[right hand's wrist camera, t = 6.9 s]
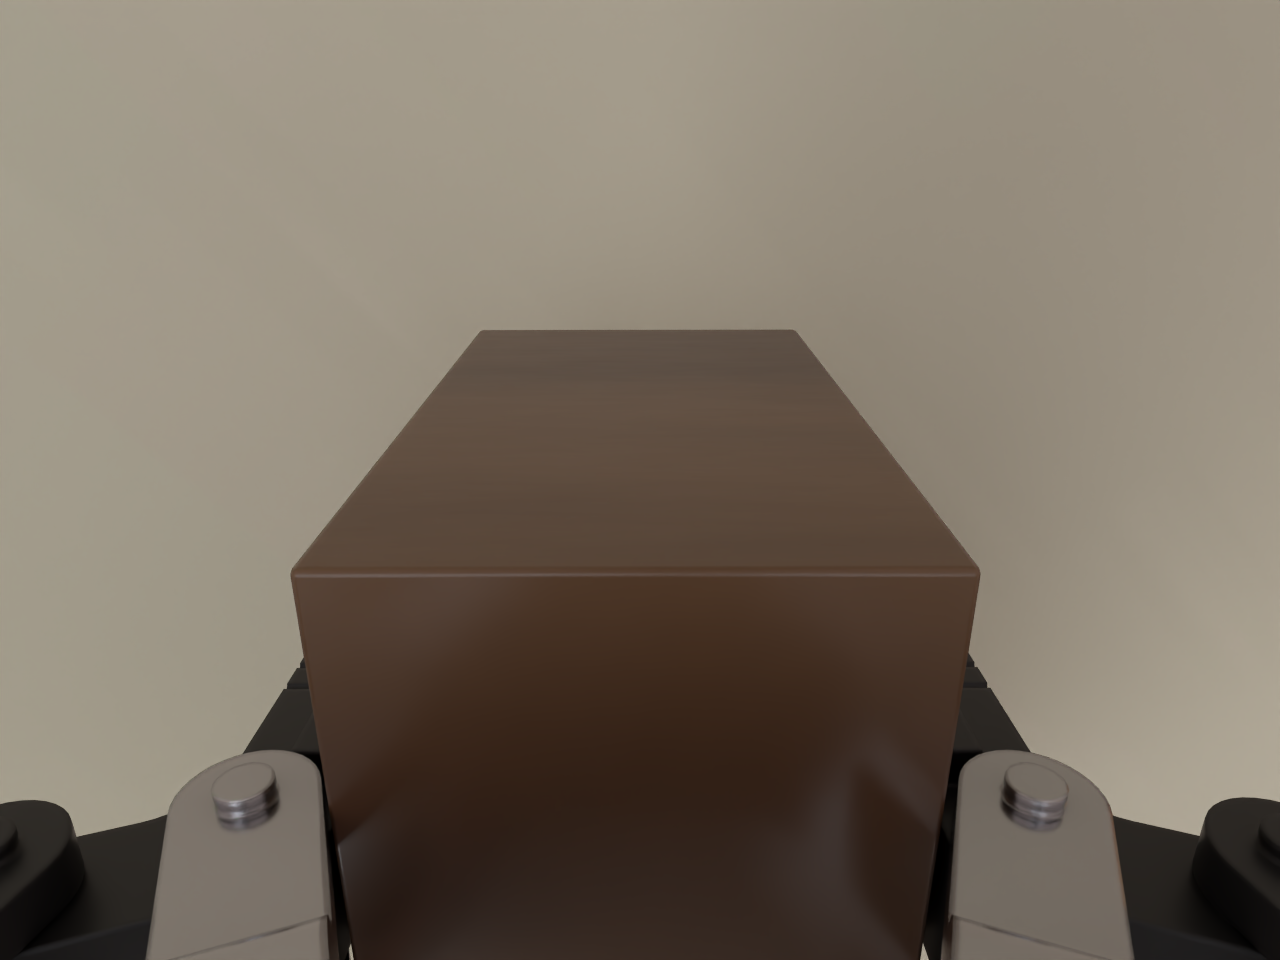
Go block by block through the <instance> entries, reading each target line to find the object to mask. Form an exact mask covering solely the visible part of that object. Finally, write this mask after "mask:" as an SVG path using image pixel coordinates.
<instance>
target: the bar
mask: <svg viewBox="0 0 1280 960" xmlns="http://www.w3.org/2000/svg"><path fill="white" fill-rule="evenodd" d="M979 580H980V570H979V567H978V566H977V565H976V563H975V562H974V561H973V560H972V558H971V557H970V556H969V554H968V553H967V552H966V551H965V549H964V548H963V547H962V545H961V544H960V543H959V541H958V540H957V539H956V538H955V536H954V535H953V534H952V532H951V531H950V530H949V529H948V527H947V526H946V525H945V523H944V522H943V521H942V520H941V518H940V517H939V516H938V514H937V513H936V512H935V510H934V509H933V508H932V507H931V505H930V504H929V503H928V501H927V500H926V499H925V498H924V496H923V495H922V494H921V492H920V491H919V490H918V488H917V487H916V486H915V485H914V483H913V482H912V481H911V479H910V478H909V477H908V476H907V474H906V473H905V472H904V470H903V469H902V468H901V467H900V465H899V464H898V463H897V461H896V460H895V459H894V457H893V456H892V455H891V454H890V452H889V451H888V450H887V448H886V447H885V446H884V445H883V443H882V442H881V441H880V439H879V438H878V437H877V435H876V434H875V433H874V432H873V430H872V429H871V428H870V426H869V425H868V424H867V423H866V421H865V420H864V419H863V417H862V416H861V415H860V414H859V412H858V411H857V410H856V408H855V407H854V406H853V404H852V403H851V402H850V401H849V399H848V398H847V397H846V395H845V394H844V393H843V392H842V390H841V389H840V388H839V386H838V385H837V384H836V382H835V381H834V380H833V379H832V377H831V376H830V375H829V373H828V372H827V371H826V370H825V368H824V367H823V366H822V364H821V363H820V362H819V361H818V359H817V358H816V357H815V355H814V354H813V353H812V351H811V350H810V349H809V348H808V346H807V345H806V344H805V342H804V341H803V340H802V339H801V337H800V336H799V335H798V333H797V332H796V331H794V330H483V331H480V332H479V334H478V335H477V336H476V338H475V339H474V340H473V341H472V343H471V344H470V345H469V346H468V348H467V349H466V350H465V351H464V353H463V354H462V355H461V356H460V358H459V359H458V360H457V361H456V363H455V364H454V365H453V367H452V368H451V369H450V370H449V372H448V373H447V374H446V375H445V377H444V378H443V379H442V380H441V382H440V383H439V384H438V385H437V387H436V388H435V389H434V391H433V392H432V393H431V394H430V396H429V397H428V398H427V399H426V401H425V402H424V403H423V404H422V406H421V407H420V408H419V409H418V411H417V412H416V413H415V414H414V416H413V417H412V418H411V420H410V421H409V422H408V423H407V425H406V426H405V427H404V428H403V430H402V431H401V432H400V433H399V435H398V436H397V437H396V438H395V440H394V441H393V442H392V443H391V445H390V446H389V447H388V449H387V450H386V451H385V452H384V454H383V455H382V456H381V457H380V459H379V460H378V461H377V462H376V464H375V465H374V466H373V467H372V469H371V470H370V471H369V472H368V474H367V475H366V476H365V478H364V479H363V480H362V481H361V483H360V484H359V485H358V486H357V488H356V489H355V490H354V491H353V493H352V494H351V495H350V496H349V498H348V499H347V500H346V501H345V503H344V504H343V505H342V507H341V508H340V509H339V510H338V512H337V513H336V514H335V515H334V517H333V518H332V519H331V520H330V522H329V523H328V524H327V525H326V527H325V528H324V529H323V531H322V532H321V533H320V534H319V536H318V537H317V538H316V539H315V541H314V542H313V543H312V544H311V546H310V547H309V548H308V549H307V551H306V552H305V553H304V554H303V556H302V557H301V558H300V560H299V561H298V562H297V563H296V565H295V566H294V567H293V568H292V571H291V581H292V587H293V593H294V599H295V605H296V611H297V618H298V624H299V630H300V636H301V642H302V648H303V654H304V660H305V666H306V672H307V678H308V684H309V690H310V697H311V703H312V709H313V715H314V721H315V727H316V733H317V739H318V745H319V751H320V757H321V763H322V770H323V776H324V782H325V788H326V794H327V800H328V806H329V812H330V818H331V824H332V830H333V836H334V842H335V849H336V855H337V861H338V867H339V873H340V879H341V885H342V891H343V897H344V903H345V909H346V915H347V921H348V928H349V934H350V940H351V946H352V952H353V958H354V960H920V957H921V951H922V944H923V938H924V931H925V925H926V919H927V912H928V906H929V900H930V893H931V887H932V880H933V874H934V868H935V861H936V855H937V848H938V842H939V836H940V829H941V823H942V817H943V810H944V804H945V797H946V791H947V785H948V778H949V772H950V766H951V759H952V753H953V746H954V740H955V734H956V727H957V721H958V714H959V708H960V702H961V695H962V689H963V683H964V676H965V670H966V663H967V657H968V651H969V644H970V638H971V632H972V625H973V619H974V612H975V606H976V600H977V593H978V587H979Z"/></svg>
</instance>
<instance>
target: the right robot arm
mask: <svg viewBox="0 0 1280 960" xmlns="http://www.w3.org/2000/svg"><path fill="white" fill-rule="evenodd" d="M350 944H351V940H350V934H349V928H348V921H347V915H346V909H345V903H344V897H343V891H342V885H341V879H340V873H339V867H338V861H337V855H336V849H335V842H334V836H333V830H332V824H331V818H330V812H329V806H328V800H327V794H326V788H325V782H324V776H323V770H322V763H321V757H320V751H319V745H318V739H317V733H316V727H315V721H314V715H313V709H312V703H311V697H310V690H309V684H308V678H307V672H306V666H305V660H304V658H303V660H302V661H301V663H300V668H297V669H296V671H295V672H294V674H293V675H292V677H291V679H290V680H289V682H288V683H287V689H284V690H283V691H282V693H281V694H280V696H279V697H278V699H277V701H276V702H275V704H274V705H273V707H272V708H271V710H270V712H269V713H268V715H267V716H266V718H265V719H264V721H263V723H262V724H261V726H260V727H259V729H258V731H257V732H256V734H255V735H254V737H253V738H252V740H251V742H250V743H249V745H248V746H247V748H246V749H245V751H244V753H243V754H241V755H238V756H234V757H232V758H229V759H226V760H223V761H221V762H219V763H217V764H215V765H213V766H211V767H209V768H207V769H206V770H204V771H202V772H201V773H199V774H198V775H197V776H195V777H194V778H193V779H191V780H190V781H189V782H188V783H187V784H186V785H185V786H184V787H183V788H182V789H181V790H180V791H179V792H178V794H177V795H176V796H175V798H174V799H173V801H172V803H171V805H170V808H169V811H168V814H167V815H165V816H162V817H159V818H156V819H153V820H149V821H145V822H141V823H137V824H133V825H128V826H124V827H119V828H115V829H110V830H106V831H101V832H97V833H92V834H88V835H83V836H79V837H76V834H75V831H74V827H73V824H72V821H71V818H70V816H69V814H68V813H67V812H66V811H65V810H64V808H62V807H60V806H58V805H56V804H54V803H50V802H47V801H38V800H23V801H15V802H8V803H3V804H0V960H351V958H350V952H349V947H350ZM923 944H924V947H925V950H926V952H927V955H928V958H929V960H1280V802H1276V801H1272V800H1267V799H1260V798H1243V797H1242V798H1232V799H1228V800H1224V801H1221V802H1219V803H1217V804H1215V805H1213V806H1212V808H1211V809H1210V810H1209V811H1208V813H1207V815H1206V817H1205V820H1204V824H1203V827H1202V830H1201V834H1200V836H1197V835H1192V834H1188V833H1183V832H1179V831H1174V830H1170V829H1165V828H1161V827H1156V826H1152V825H1147V824H1143V823H1139V822H1134V821H1130V820H1126V819H1123V818H1119V817H1116V816H1113V815H1112V811H1111V808H1110V805H1109V803H1108V801H1107V799H1106V797H1105V796H1104V795H1103V794H1102V792H1101V791H1100V790H1099V789H1098V788H1097V787H1096V786H1095V785H1094V784H1093V783H1092V782H1091V781H1090V780H1089V779H1087V778H1086V777H1085V776H1083V775H1082V774H1081V773H1079V772H1078V771H1076V770H1074V769H1073V768H1071V767H1069V766H1067V765H1065V764H1063V763H1061V762H1059V761H1057V760H1054V759H1051V758H1048V757H1046V756H1042V755H1039V754H1035V753H1031V752H1030V750H1029V749H1028V747H1027V746H1026V744H1025V742H1024V741H1023V739H1022V738H1021V736H1020V734H1019V733H1018V731H1017V730H1016V728H1015V726H1014V725H1013V723H1012V722H1011V720H1010V718H1009V717H1008V715H1007V714H1006V712H1005V710H1004V709H1003V707H1002V706H1001V704H1000V703H999V701H998V699H997V698H996V696H995V695H994V693H993V691H992V690H991V688H987V682H986V680H985V679H984V677H983V675H982V674H981V672H980V671H979V669H978V667H975V666H974V661H973V659H972V658H971V656H970V655H969V653H968V657H967V663H966V670H965V676H964V683H963V689H962V695H961V702H960V708H959V714H958V721H957V727H956V734H955V740H954V746H953V753H952V759H951V766H950V772H949V778H948V785H947V791H946V797H945V804H944V810H943V817H942V823H941V829H940V836H939V842H938V848H937V855H936V861H935V868H934V874H933V880H932V887H931V893H930V900H929V906H928V912H927V919H926V925H925V931H924V938H923Z"/></svg>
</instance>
